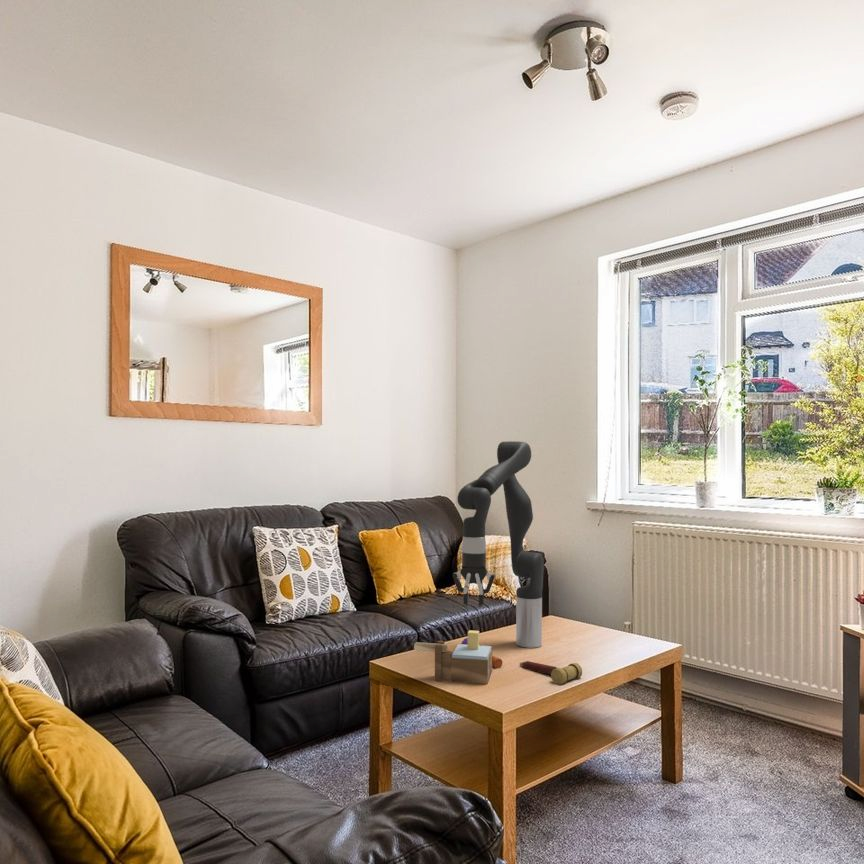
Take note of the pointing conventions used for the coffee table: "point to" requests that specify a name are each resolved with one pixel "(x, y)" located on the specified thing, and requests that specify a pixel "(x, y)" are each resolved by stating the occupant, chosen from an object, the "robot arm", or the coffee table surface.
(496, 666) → the kendama
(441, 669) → the toolbox
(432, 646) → the beige wooden bar
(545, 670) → the gavel
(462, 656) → the lid
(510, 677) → the coffee table surface
